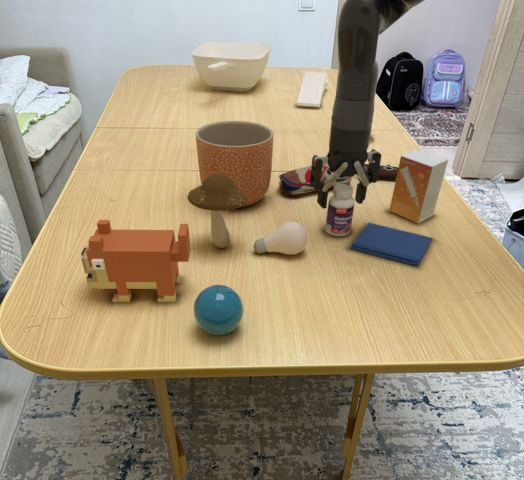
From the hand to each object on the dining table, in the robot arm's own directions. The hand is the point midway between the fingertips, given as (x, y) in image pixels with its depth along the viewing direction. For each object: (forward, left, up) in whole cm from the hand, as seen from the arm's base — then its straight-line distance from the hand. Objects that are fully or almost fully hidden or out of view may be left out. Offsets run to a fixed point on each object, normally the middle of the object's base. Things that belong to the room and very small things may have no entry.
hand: (340, 204), depth 102 cm
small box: (-12, -16, -6) cm, 21 cm away
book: (-12, 0, -6) cm, 13 cm away
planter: (+27, -3, -6) cm, 28 cm away
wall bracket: (+45, -91, -6) cm, 102 cm away
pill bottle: (0, 0, -6) cm, 6 cm away
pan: (+75, -81, -6) cm, 111 cm away
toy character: (+23, +38, -6) cm, 45 cm away
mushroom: (+19, +18, -6) cm, 27 cm away
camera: (+1, -34, -6) cm, 34 cm away
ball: (+5, +41, -6) cm, 42 cm away
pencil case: (+13, -18, -6) cm, 23 cm away
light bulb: (+7, +14, -6) cm, 17 cm away
